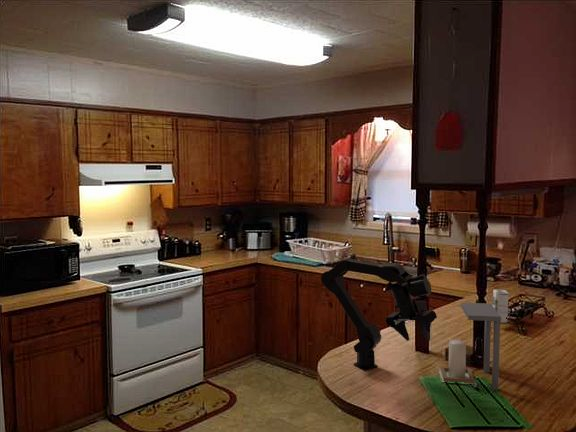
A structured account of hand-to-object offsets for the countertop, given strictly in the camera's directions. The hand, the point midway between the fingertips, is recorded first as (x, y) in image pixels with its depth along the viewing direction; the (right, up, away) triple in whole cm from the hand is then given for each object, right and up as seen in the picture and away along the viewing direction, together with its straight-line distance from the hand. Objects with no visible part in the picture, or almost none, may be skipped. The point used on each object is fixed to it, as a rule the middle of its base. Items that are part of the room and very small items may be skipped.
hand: (418, 340), depth 179 cm
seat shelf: (+16, -12, -3) cm, 20 cm away
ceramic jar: (+13, -12, -2) cm, 17 cm away
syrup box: (+54, -6, +62) cm, 82 cm away
